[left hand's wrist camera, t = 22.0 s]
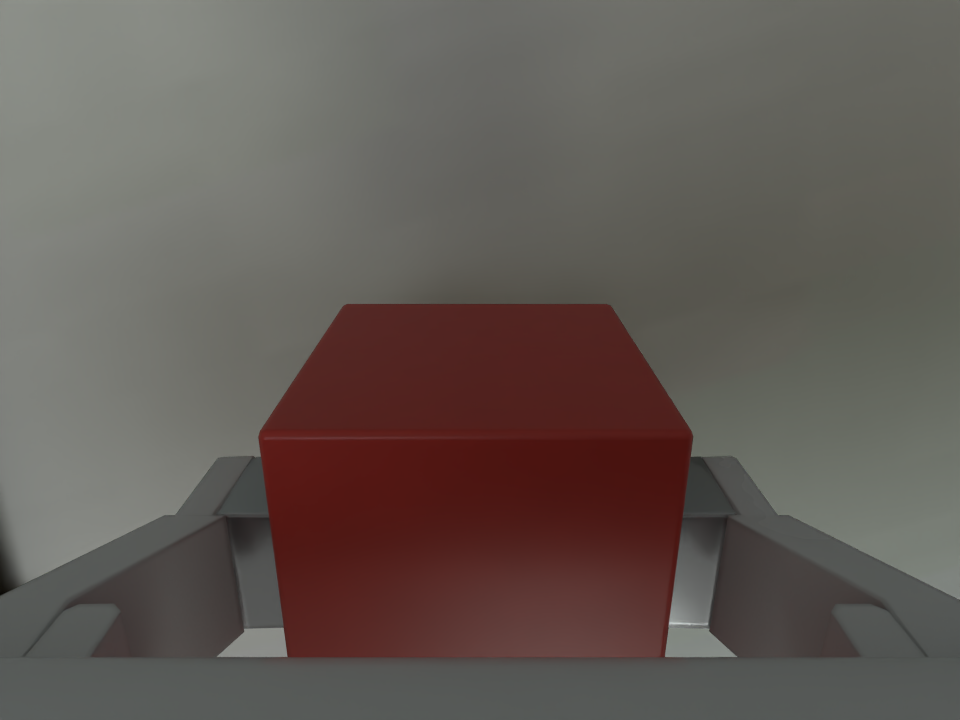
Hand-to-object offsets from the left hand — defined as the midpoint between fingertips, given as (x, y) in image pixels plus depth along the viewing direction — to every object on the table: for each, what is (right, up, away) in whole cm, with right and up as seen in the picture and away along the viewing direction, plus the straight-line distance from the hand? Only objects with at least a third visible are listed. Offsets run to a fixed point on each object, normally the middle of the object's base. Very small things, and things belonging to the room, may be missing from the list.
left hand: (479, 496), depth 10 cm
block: (0, +1, +2) cm, 2 cm away
